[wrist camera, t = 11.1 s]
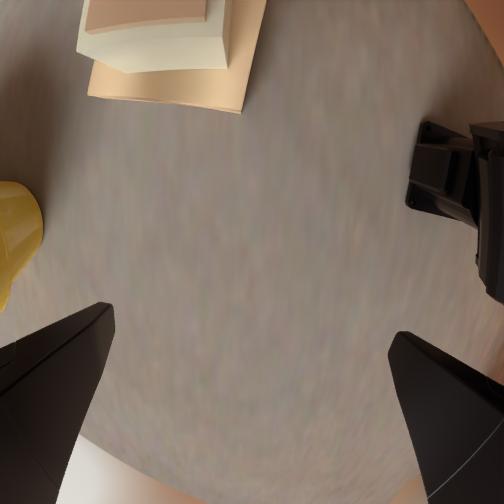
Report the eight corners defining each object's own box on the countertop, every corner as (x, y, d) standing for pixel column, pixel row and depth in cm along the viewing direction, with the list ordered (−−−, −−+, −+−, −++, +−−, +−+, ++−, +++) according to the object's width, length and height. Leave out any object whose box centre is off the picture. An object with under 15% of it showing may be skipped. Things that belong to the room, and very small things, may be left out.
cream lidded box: (234, -16, 12) (232, -81, 6) (227, 69, 14) (221, 31, 8) (137, -10, 12) (94, -62, 6) (126, 73, 14) (68, 48, 8)
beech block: (268, -4, 15) (273, -27, 12) (240, 114, 18) (241, 110, 15) (140, -15, 14) (125, -35, 11) (109, 99, 18) (87, 95, 14)
